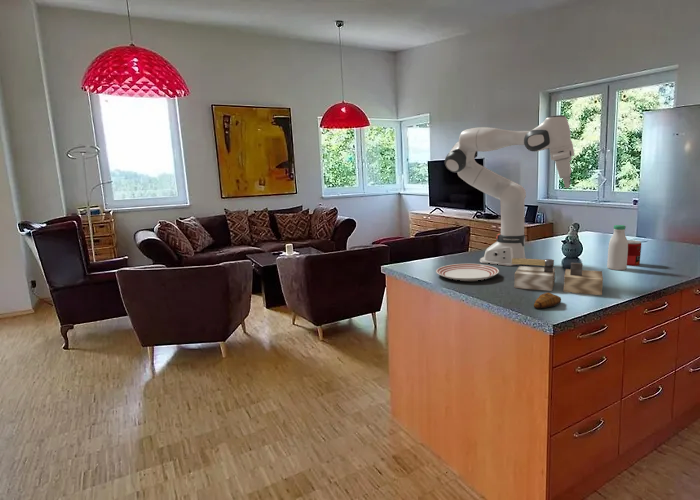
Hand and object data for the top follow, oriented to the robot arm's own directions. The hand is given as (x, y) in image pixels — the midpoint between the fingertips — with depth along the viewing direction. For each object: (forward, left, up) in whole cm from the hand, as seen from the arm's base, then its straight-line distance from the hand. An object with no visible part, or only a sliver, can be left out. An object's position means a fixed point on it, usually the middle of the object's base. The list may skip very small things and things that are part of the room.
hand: (568, 186), depth 191 cm
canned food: (+27, +35, -39) cm, 59 cm away
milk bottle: (+21, +23, -39) cm, 50 cm away
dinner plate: (-39, -13, -40) cm, 57 cm away
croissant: (-3, -46, -39) cm, 61 cm away
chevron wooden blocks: (-1, -19, -39) cm, 43 cm away
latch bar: (-11, -19, -31) cm, 38 cm away
